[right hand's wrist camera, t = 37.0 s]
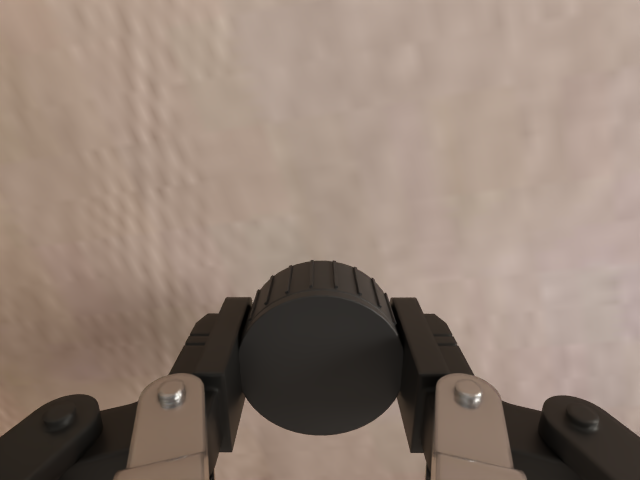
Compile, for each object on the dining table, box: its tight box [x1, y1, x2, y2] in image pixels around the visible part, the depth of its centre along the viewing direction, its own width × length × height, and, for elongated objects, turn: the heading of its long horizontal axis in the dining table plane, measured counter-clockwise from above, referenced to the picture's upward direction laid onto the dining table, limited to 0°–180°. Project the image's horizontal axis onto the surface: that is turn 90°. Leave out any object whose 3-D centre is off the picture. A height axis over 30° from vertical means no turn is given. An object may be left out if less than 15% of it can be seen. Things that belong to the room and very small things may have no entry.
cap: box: [239, 260, 404, 435], centre depth 11 cm, size 4×4×2 cm
